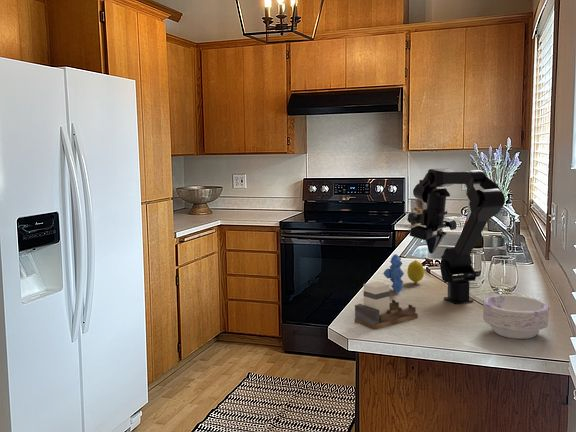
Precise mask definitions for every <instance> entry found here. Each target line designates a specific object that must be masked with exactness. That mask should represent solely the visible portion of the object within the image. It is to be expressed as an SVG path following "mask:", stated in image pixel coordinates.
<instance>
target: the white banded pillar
mask: <svg viewBox="0 0 576 432" xmlns="http://www.w3.org/2000/svg"><path fill="white" fill-rule="evenodd" d="M390 294H391V292H390V284H389V283H384V282H381V281H372V282H369V283H363V305H366V306H369V307H372V308H375V309H378V310H379V315H382V314H386V313H387V310H390V307H389V303H390V296H391V295H390Z"/></svg>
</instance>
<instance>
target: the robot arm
mask: <svg viewBox="0 0 576 432" xmlns="http://www.w3.org/2000/svg"><path fill="white" fill-rule="evenodd" d="M454 185H465V186H466V193H465V194H466V197H467V198H468V200H469V204H468V205H469V209H470V214H469V217H468V218H467V220H466V223H465V224H464V226H463V229H462V230H461V233H460V235H459V236H458V239H457V241H456V243H455V246H454V247H446V248H445V249H444V251H443V254H442V256H441V257H440V258H441V260H440V263H439V269H440V273H441V279H442V281H444V283H447V296H444V297H443V299H444V300H445V301H449V302H450V303H453V304H456V305H458V304H465V303H473V302H475V301H474V299H472V298H470V282H471V281H472V282H474V281H476V278H477V273H476V271H475V269H474V267H473V265H472V262H473V261H472V258H471V254H472V252H473V250H474V248H475V246H476V244H477V242H478V240H479V239H480V236H481V234H482V232H483V231H484V228H485V227H486V225H487V223H488V221H489V220H491V218H493V217H495V216H496V215H498V213H500V211H501V210H502V209H503V207H504V206H505V202H506V200H505V199H506V196H505V194H504V192H503V191H502V189H501V188H500V186H499V185H498V183H496V182H495V181H493V180H491V178H489V177H488V175H486V173H485V172H484V171H483V170H479V169H476V170H468V171H454V170H453V169H451V168H448V167H447V168H445V167H444V168H429V169H428V170H427V173H425V175H424V177H423V179H419V182H418V183H417V184H416V185H415V186H414V188H413V190H412V195H413V196H414V199H419V200H421V201H423V202H425V203H427V209H424V210H423V212H422V213H415V212H413V213H411V212H409V213H408V215H407V219H406V221H407V222H408V223H409V224H410V226H411V225H414V224H418V223H421V225H423V226H424V225H425V226H426V227H422V226H416V227H413V228H412V227H411V228H410V229H409V236H410V237H413V238H416V239H420V240H423V241H425V242H426V245H427V250H428V253H429V254H434V253H435V251H436V250H437V248H438V246H440V245H439V244H441V242H442V241H443V239H444V238H445V237H446V235H447V232H446V231H444V230H443V229H445V228H449V230H450V231H453V230H456V229H457V225H458V223H457V222H456V220H455V219H452V218H448V217H445V216H446V215H447V214H448V210H446V203H447V197H450V196H451V194H450V192H449V191H448V189H447V188H445V187H450V186H454ZM475 185H476V186H477V185H479V186H480V187H481V188H482V189H476V188H475Z"/></svg>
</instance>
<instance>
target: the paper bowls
mask: <svg viewBox="0 0 576 432" xmlns="http://www.w3.org/2000/svg"><path fill="white" fill-rule="evenodd" d="M482 308H483V311H482V316H483V317H482V319H483V321H484V322H485V323H486V324H488V325H490V326H491V329H492V330H493V332H494V333H495V334H497V335H498V336H501V337H504V338H509V339H513V340H514V339H516V340H517V339H518V340H527V339H531V338H534V337H536V336H537V335H538V334H539V332H540V331H541V330H544V329H546V328H547V327H548V326H549V321H550V319H549V318H550V307H549V304H547V303H546V302H544V301H542V300H540V299H537V298H535V297H529V296H523V295H515V294H497V295H491V296H488V297H486V298H485V299H484V300H483V307H482Z"/></svg>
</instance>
